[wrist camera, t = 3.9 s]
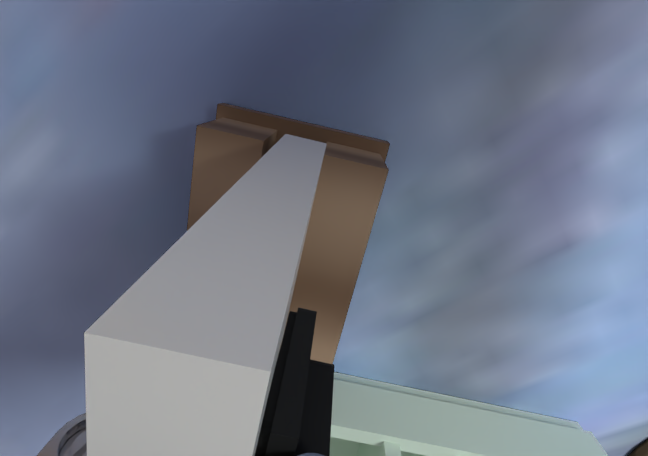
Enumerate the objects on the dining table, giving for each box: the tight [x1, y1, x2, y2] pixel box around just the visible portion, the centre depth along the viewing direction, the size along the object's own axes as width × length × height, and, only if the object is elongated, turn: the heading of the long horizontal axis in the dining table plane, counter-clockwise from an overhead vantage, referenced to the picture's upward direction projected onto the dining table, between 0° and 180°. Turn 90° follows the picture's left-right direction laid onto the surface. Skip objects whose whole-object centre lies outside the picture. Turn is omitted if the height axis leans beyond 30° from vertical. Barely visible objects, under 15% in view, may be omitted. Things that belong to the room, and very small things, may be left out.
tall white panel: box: [84, 134, 327, 456], centre depth 11 cm, size 10×2×12 cm, turn 167°
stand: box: [187, 103, 390, 364], centre depth 17 cm, size 12×8×4 cm, turn 167°
